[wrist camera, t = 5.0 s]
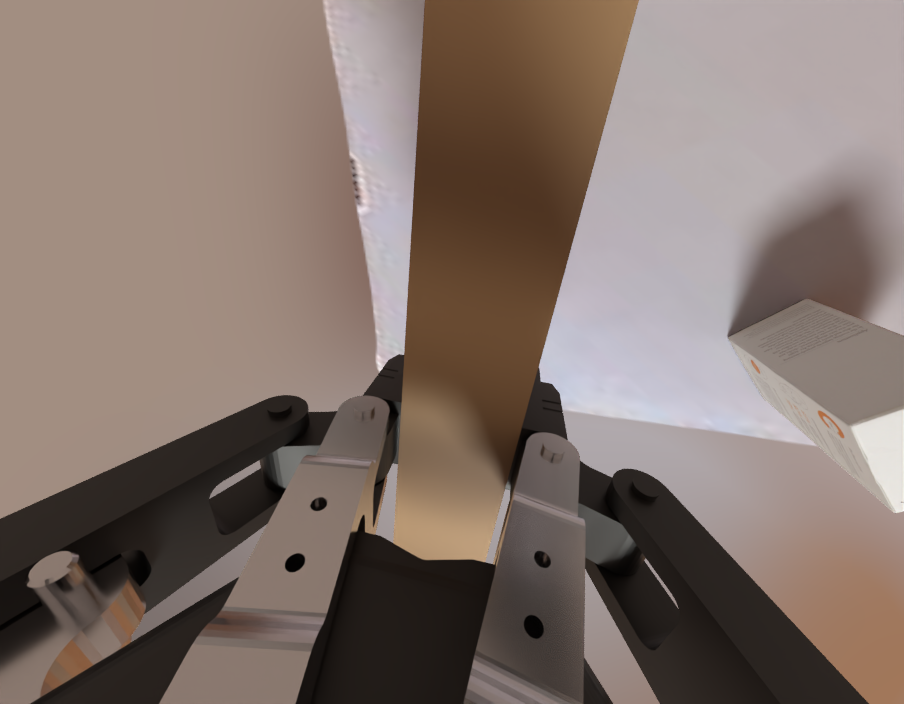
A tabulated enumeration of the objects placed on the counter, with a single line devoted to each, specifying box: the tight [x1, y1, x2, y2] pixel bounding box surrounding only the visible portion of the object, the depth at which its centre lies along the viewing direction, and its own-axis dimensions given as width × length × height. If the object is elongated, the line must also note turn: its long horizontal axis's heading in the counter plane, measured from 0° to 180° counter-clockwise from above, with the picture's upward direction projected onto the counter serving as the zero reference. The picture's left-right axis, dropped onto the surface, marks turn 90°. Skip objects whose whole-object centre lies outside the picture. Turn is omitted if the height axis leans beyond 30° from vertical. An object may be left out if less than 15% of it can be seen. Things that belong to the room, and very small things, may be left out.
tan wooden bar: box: [394, 0, 639, 562], centre depth 10 cm, size 20×3×3 cm, turn 173°
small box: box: [728, 299, 904, 513], centre depth 25 cm, size 8×6×13 cm
